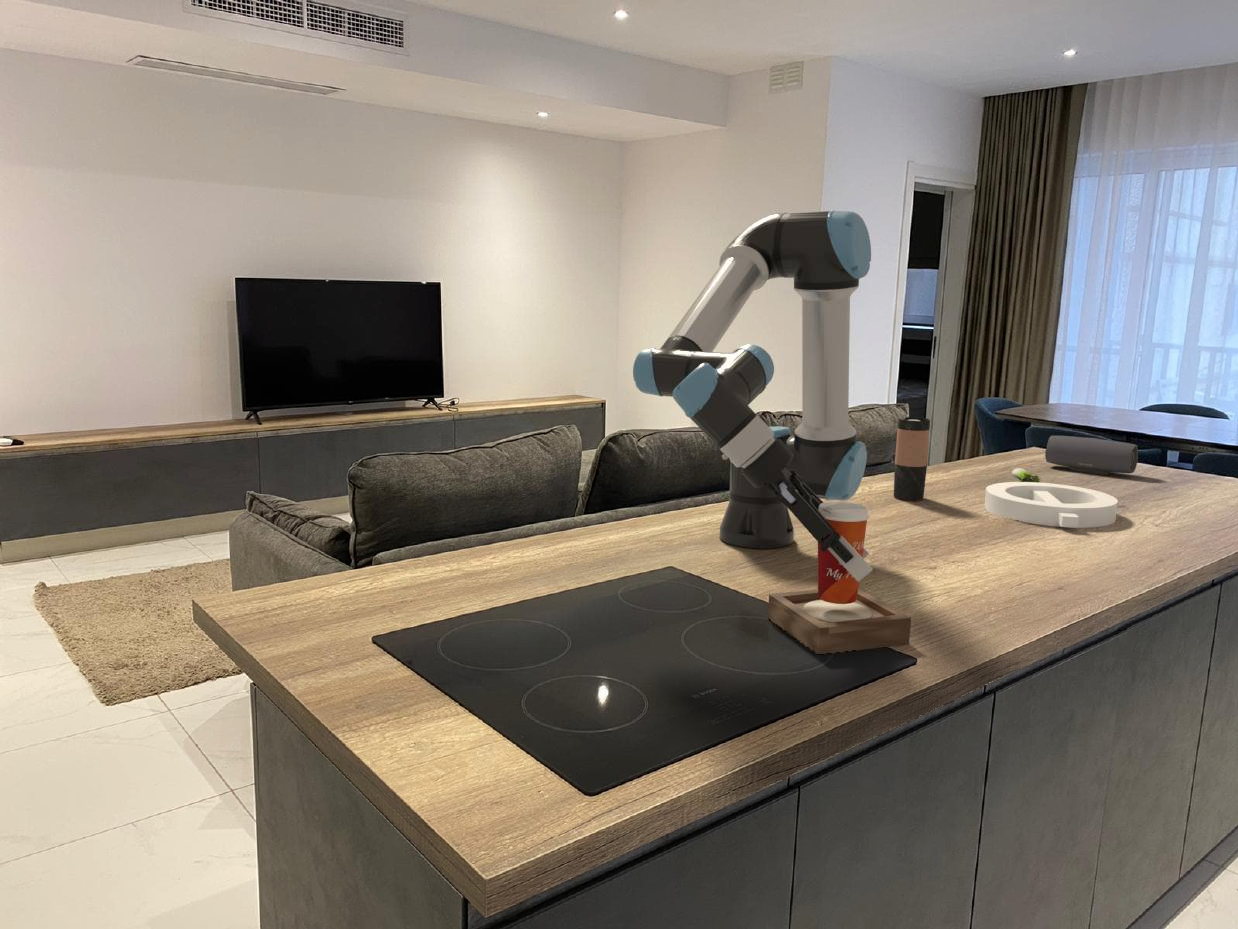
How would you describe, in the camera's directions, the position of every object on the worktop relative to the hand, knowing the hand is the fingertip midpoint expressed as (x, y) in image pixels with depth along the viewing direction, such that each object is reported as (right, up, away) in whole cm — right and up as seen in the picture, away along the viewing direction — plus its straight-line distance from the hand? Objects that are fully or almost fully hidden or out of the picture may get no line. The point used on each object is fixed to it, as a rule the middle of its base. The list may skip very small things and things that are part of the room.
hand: (863, 566), depth 132 cm
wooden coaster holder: (-3, -10, +3) cm, 11 cm away
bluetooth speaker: (+102, +13, +131) cm, 167 cm away
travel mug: (+37, +6, +93) cm, 101 cm away
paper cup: (-3, -5, +2) cm, 6 cm away
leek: (+73, +9, +111) cm, 134 cm away
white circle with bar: (+65, +3, +80) cm, 103 cm away
